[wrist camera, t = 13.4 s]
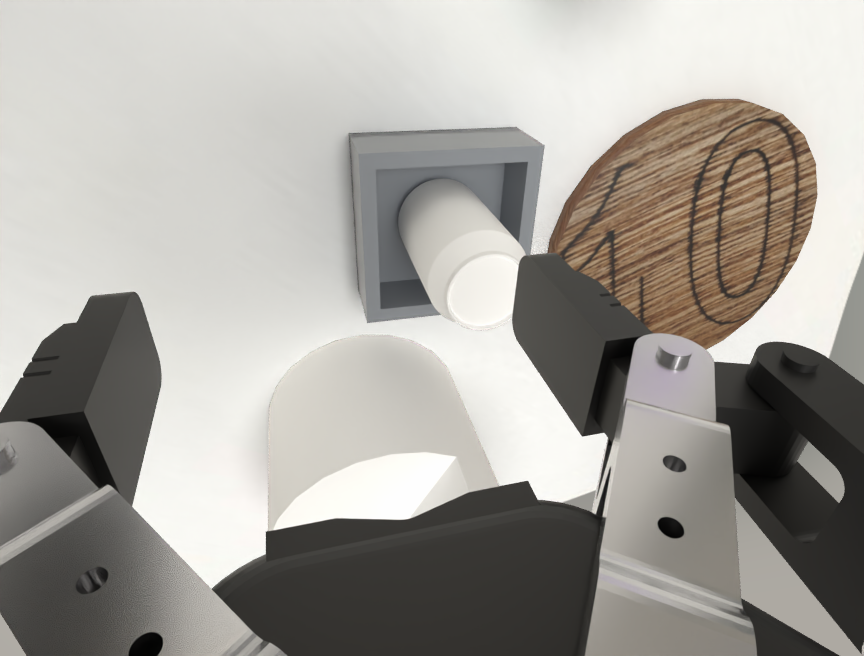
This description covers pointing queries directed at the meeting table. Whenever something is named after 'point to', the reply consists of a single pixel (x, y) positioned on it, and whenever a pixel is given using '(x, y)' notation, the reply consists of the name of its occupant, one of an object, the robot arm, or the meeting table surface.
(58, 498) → the robot arm
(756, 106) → the trivet
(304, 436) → the white quarter cylinder
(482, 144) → the bin
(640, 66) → the meeting table surface
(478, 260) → the beverage can
